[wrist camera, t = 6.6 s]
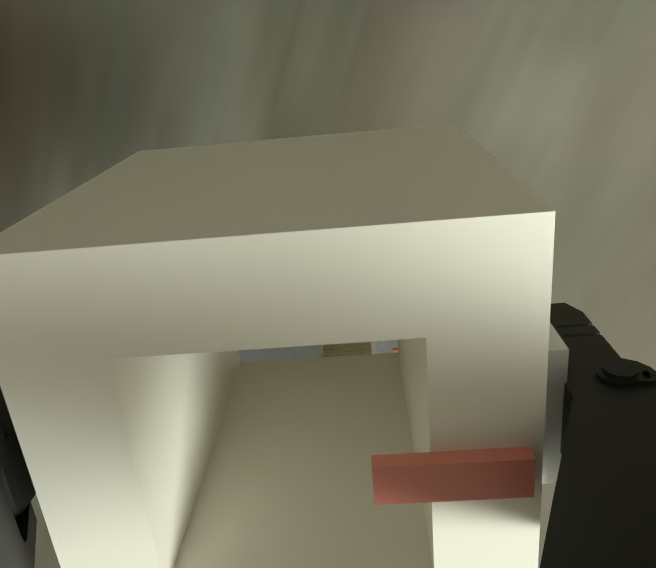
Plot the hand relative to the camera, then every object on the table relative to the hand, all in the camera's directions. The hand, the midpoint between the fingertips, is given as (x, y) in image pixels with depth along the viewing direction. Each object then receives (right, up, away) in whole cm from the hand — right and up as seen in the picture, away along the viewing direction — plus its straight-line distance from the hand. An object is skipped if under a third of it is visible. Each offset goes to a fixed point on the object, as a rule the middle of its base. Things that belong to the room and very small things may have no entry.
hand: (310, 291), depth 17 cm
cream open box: (0, 0, 0) cm, 0 cm away
